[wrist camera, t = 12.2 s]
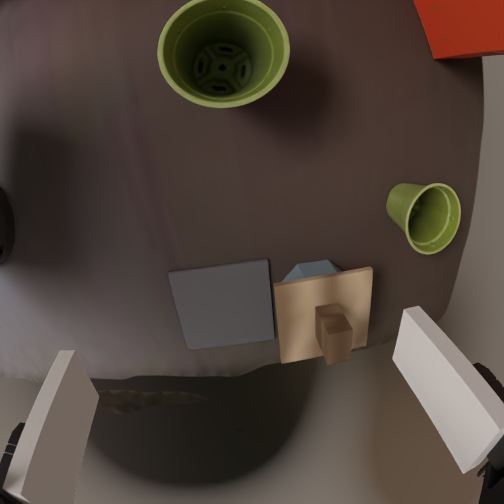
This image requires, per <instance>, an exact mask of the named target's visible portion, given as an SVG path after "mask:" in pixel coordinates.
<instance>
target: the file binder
mask: <svg viewBox="0 0 504 504" xmlns="http://www.w3.org/2000/svg"><path fill="white" fill-rule="evenodd" d="M413 1H414V4H415V6H416V9H417V11H418V14H419V16H420V19H421V22H422V25H423V27H424V30H425V33H426V36H427V39H428V42H429V45H430V49H431V52H432V55H433V59H448V58H471V57H481V56H491V55H504V0H413Z"/></svg>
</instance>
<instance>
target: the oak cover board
mask: <svg viewBox="0 0 504 504" xmlns="http://www.w3.org/2000/svg"><path fill="white" fill-rule="evenodd" d="M372 278H373V269H372V268H371V267H365V268H360V269H354V270H349V271H343V272H337V273H332V274H326V275H320V276H314V277H308V278H302V279H296V280H290V281H284V282H278V283H273V285H274V295H275V305H276V315H277V325H278V336H279V346H280V357H281V363H288V362H293V361H299V360H304V359H309V358H314V357H319V356H323V355H324V358H325V360H326V362H327V365H331V364H336V363H340V362H344V361H348V360H350V358H351V349H354V348H358V347H362V346H366V342H367V334H368V325H369V315H370V304H371V292H372Z"/></svg>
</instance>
